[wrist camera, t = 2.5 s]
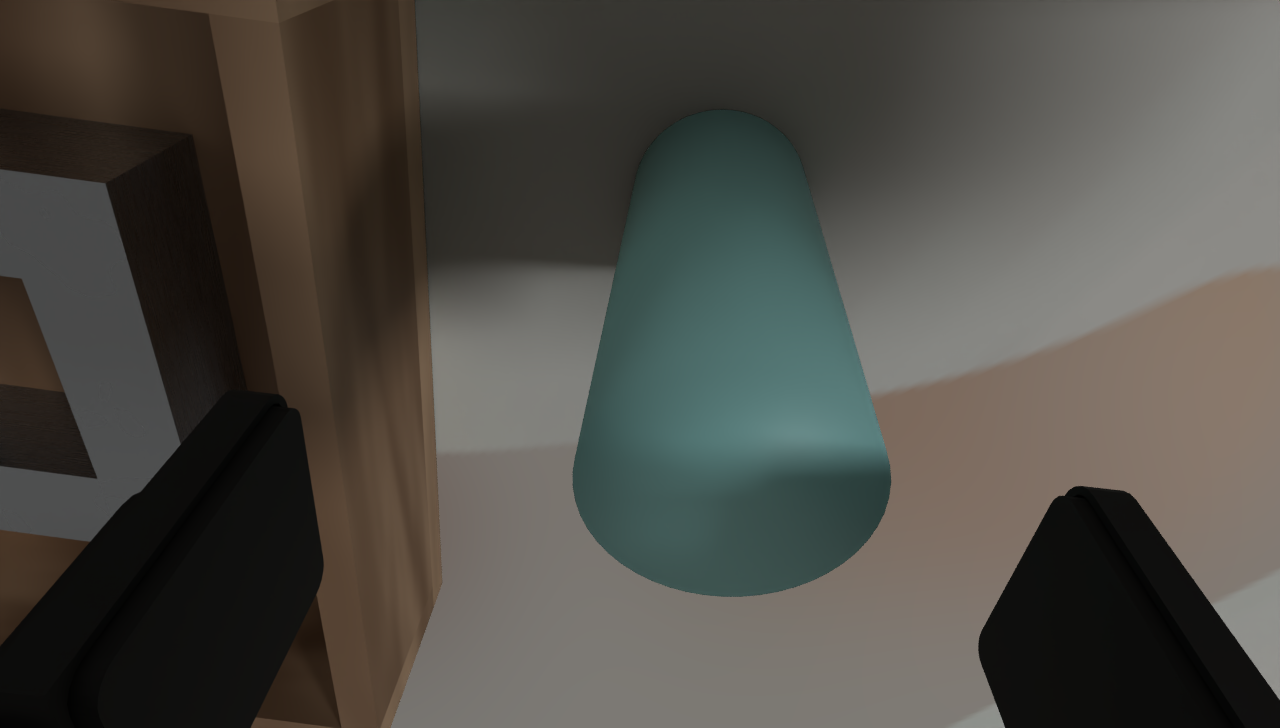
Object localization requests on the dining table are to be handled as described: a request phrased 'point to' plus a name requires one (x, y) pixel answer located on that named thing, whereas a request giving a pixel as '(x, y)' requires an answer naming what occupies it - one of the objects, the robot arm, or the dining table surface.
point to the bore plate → (106, 315)
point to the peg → (728, 377)
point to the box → (279, 287)
